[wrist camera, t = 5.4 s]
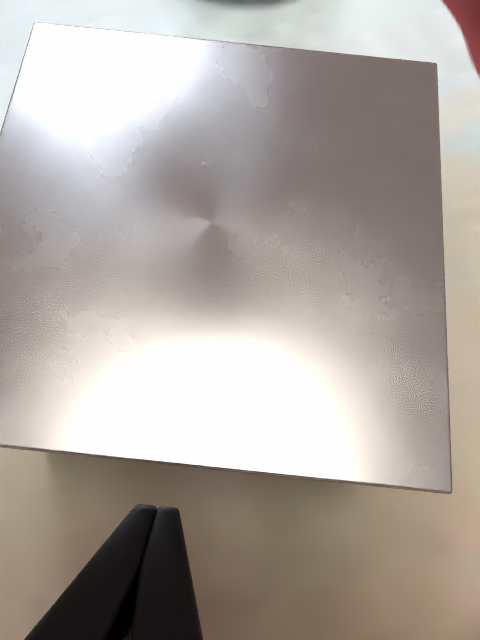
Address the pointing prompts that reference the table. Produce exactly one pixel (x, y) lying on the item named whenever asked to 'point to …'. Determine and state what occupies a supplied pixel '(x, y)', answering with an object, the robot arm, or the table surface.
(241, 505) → the table surface
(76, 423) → the lid
